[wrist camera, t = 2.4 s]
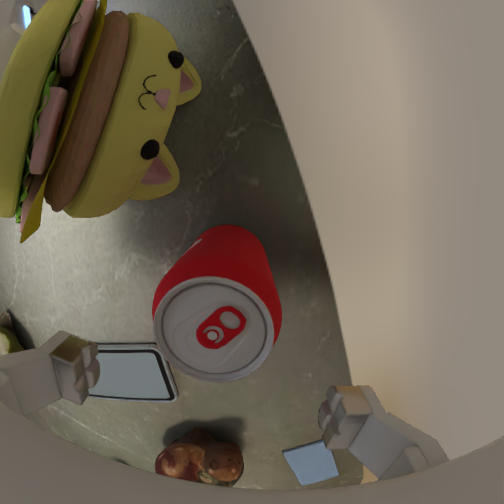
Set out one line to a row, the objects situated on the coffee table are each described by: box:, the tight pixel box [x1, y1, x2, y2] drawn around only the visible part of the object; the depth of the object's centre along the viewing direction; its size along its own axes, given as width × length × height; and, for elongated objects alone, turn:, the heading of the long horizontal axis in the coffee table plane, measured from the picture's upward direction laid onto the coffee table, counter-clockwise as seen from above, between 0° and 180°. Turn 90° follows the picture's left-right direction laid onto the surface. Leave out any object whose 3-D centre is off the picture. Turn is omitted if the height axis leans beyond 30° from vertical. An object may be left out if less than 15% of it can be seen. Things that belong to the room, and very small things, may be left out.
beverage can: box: [152, 225, 282, 383], centre depth 17 cm, size 6×6×12 cm
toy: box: [0, 0, 202, 243], centre depth 15 cm, size 16×15×15 cm
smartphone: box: [88, 344, 178, 402], centre depth 25 cm, size 7×1×15 cm
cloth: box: [282, 440, 339, 486], centre depth 30 cm, size 12×6×1 cm, turn 19°
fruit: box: [0, 310, 25, 355], centre depth 22 cm, size 9×9×8 cm
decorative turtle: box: [155, 427, 244, 487], centre depth 25 cm, size 10×15×8 cm, turn 146°
